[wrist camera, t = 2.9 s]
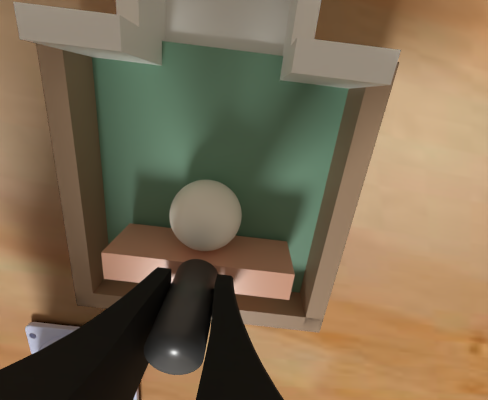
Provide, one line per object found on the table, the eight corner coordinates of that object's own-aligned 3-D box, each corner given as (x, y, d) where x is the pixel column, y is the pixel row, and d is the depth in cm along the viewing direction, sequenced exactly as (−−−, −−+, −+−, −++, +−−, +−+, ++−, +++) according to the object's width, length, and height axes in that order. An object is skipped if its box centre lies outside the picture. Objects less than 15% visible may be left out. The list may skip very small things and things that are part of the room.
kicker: (281, 266, 16) (302, 388, 9) (131, 249, 15) (42, 360, 9) (287, 237, 15) (314, 347, 8) (129, 219, 15) (31, 315, 8)
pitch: (309, 295, 18) (328, 365, 13) (104, 272, 18) (52, 334, 13) (399, -57, 11) (507, -169, 6) (67, -100, 11) (-72, -247, 6)
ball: (239, 233, 15) (235, 270, 12) (179, 226, 15) (159, 261, 12) (246, 175, 14) (244, 199, 11) (180, 167, 14) (158, 189, 11)
